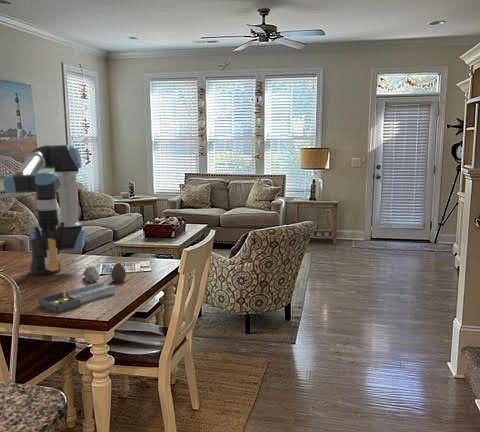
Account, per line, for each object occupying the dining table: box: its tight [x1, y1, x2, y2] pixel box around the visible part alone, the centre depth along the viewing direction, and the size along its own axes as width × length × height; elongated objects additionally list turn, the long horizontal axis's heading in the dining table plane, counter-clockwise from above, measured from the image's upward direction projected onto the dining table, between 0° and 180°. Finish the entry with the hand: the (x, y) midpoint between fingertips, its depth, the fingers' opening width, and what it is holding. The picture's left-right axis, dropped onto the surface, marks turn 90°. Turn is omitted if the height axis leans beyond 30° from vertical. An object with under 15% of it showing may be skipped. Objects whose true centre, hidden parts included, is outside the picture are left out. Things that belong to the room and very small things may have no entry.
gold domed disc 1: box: [50, 300, 60, 305], centre depth 194 cm, size 4×4×2 cm
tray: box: [38, 291, 82, 314], centre depth 195 cm, size 14×11×3 cm
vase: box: [110, 262, 127, 283], centre depth 228 cm, size 7×7×9 cm
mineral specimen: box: [83, 265, 101, 284], centre depth 229 cm, size 16×7×7 cm, turn 24°
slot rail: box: [65, 281, 116, 305], centre depth 206 cm, size 10×18×4 cm, turn 140°
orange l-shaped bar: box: [45, 238, 60, 271], centre depth 200 cm, size 6×3×13 cm, turn 51°
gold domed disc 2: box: [59, 296, 69, 304], centre depth 197 cm, size 4×4×2 cm
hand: (51, 263), depth 201 cm, fingers closed on orange l-shaped bar, 3 cm apart
